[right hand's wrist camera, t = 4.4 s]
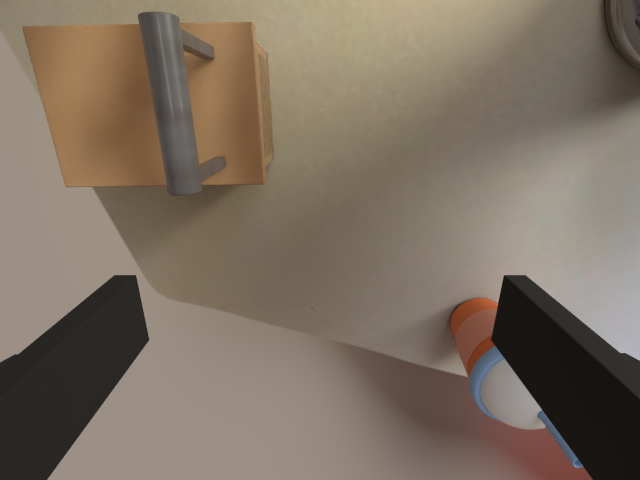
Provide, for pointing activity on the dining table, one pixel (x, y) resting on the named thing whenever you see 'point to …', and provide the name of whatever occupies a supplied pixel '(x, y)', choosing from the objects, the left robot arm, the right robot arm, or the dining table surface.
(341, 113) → the dining table surface
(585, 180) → the dining table surface
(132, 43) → the lid
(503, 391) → the cup with straw
